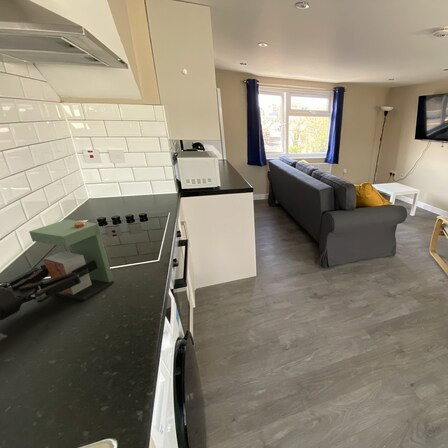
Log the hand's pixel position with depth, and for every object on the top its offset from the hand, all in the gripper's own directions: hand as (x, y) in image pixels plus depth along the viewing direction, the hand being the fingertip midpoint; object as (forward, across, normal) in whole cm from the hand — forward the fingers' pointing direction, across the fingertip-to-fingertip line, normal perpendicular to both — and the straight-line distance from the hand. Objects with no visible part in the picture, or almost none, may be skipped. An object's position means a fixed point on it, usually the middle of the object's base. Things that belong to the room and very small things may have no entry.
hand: (83, 262), depth 82 cm
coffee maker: (-2, 0, -8) cm, 9 cm away
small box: (-5, 0, -6) cm, 8 cm away
